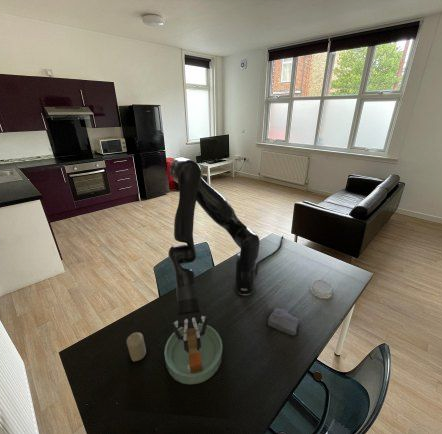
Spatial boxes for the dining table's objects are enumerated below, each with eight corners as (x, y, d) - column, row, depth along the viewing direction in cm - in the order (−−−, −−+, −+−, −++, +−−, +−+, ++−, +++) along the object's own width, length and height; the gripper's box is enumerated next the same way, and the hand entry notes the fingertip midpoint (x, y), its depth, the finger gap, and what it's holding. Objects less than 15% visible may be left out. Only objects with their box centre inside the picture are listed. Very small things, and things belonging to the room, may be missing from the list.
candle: (137, 365, 84) (132, 346, 80) (127, 357, 87) (122, 338, 82) (149, 352, 88) (145, 334, 84) (139, 345, 91) (135, 327, 87)
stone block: (272, 313, 107) (266, 326, 99) (275, 304, 106) (268, 316, 97) (299, 324, 102) (294, 339, 94) (301, 315, 101) (297, 329, 92)
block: (189, 362, 84) (188, 354, 83) (200, 359, 85) (200, 352, 84) (190, 373, 81) (190, 366, 79) (202, 370, 82) (201, 363, 80)
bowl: (185, 325, 99) (185, 316, 97) (230, 343, 92) (231, 334, 90) (153, 370, 83) (152, 361, 80) (205, 396, 75) (205, 387, 73)
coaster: (328, 285, 121) (329, 280, 120) (334, 300, 112) (336, 294, 111) (308, 284, 122) (309, 278, 121) (312, 298, 113) (314, 292, 112)
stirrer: (188, 352, 87) (186, 329, 81) (196, 350, 87) (195, 328, 82) (189, 360, 84) (187, 337, 79) (197, 358, 85) (196, 335, 79)
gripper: (167, 301, 82) (171, 358, 76) (207, 294, 85) (214, 348, 79) (168, 301, 89) (172, 353, 83) (205, 295, 92) (212, 344, 86)
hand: (193, 350), depth 81 cm, fingers closed on stirrer, 3 cm apart
